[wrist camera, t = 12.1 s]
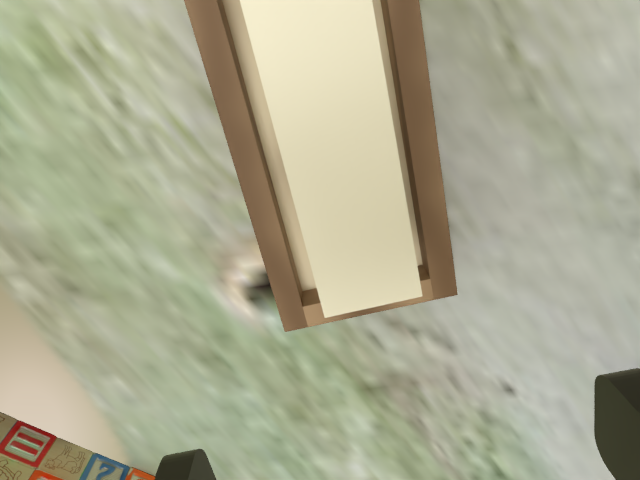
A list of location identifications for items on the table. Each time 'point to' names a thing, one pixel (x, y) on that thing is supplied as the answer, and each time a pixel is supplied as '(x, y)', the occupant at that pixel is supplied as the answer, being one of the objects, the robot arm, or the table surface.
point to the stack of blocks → (53, 457)
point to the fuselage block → (337, 147)
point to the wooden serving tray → (268, 169)
